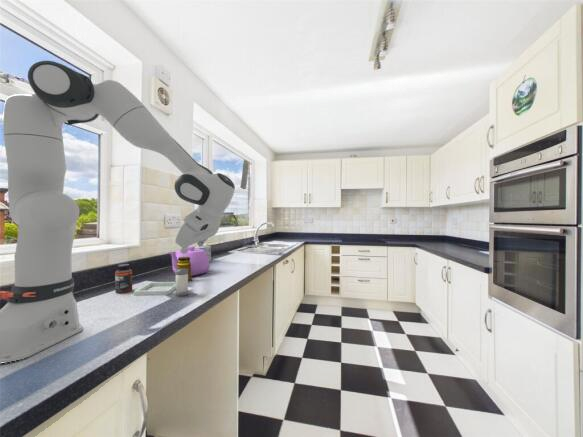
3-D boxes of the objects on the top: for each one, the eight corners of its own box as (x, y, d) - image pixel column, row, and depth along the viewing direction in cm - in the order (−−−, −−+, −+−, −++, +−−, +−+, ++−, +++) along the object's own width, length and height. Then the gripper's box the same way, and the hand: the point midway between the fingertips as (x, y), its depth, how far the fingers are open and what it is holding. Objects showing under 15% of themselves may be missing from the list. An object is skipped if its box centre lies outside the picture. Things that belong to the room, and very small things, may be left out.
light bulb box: (204, 260, 172) (204, 245, 172) (211, 261, 169) (211, 245, 169) (191, 263, 163) (191, 247, 163) (199, 264, 160) (199, 247, 159)
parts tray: (167, 297, 97) (167, 290, 97) (133, 297, 96) (133, 291, 96) (180, 287, 110) (180, 281, 110) (150, 287, 109) (150, 282, 109)
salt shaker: (185, 296, 95) (185, 270, 95) (173, 296, 95) (173, 271, 94) (189, 292, 100) (189, 268, 99) (178, 293, 99) (178, 268, 99)
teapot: (188, 268, 148) (188, 243, 148) (214, 272, 138) (214, 245, 138) (151, 276, 128) (151, 248, 127) (179, 282, 118) (179, 251, 118)
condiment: (176, 284, 114) (176, 259, 114) (176, 280, 122) (176, 256, 122) (193, 283, 117) (193, 258, 117) (192, 278, 125) (192, 255, 125)
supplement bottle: (129, 288, 108) (129, 262, 108) (134, 291, 104) (134, 264, 104) (113, 291, 104) (113, 264, 103) (117, 294, 100) (117, 266, 100)
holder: (198, 297, 98) (198, 294, 98) (175, 303, 91) (175, 300, 91) (187, 292, 103) (187, 289, 103) (165, 297, 97) (165, 295, 97)
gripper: (216, 209, 97) (202, 237, 101) (181, 217, 77) (165, 252, 81) (229, 218, 96) (214, 245, 100) (196, 228, 76) (179, 263, 80)
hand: (191, 248), depth 90 cm, fingers open, 8 cm apart
